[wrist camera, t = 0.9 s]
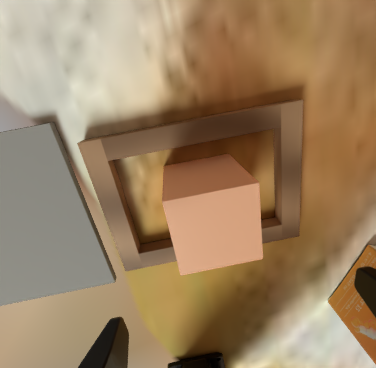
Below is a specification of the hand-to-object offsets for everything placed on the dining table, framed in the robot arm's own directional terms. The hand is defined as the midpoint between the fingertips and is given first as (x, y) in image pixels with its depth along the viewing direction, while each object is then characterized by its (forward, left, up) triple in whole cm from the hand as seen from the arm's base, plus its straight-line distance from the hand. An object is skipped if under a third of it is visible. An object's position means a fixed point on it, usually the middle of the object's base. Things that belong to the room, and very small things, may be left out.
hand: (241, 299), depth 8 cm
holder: (0, 0, -10) cm, 10 cm away
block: (0, 0, -10) cm, 10 cm away
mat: (0, +15, -10) cm, 18 cm away
